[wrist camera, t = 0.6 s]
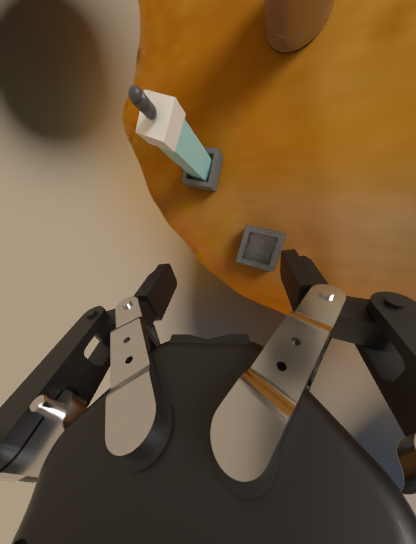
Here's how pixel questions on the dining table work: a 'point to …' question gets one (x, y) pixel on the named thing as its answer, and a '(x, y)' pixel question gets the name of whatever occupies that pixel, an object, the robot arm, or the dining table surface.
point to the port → (260, 247)
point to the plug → (170, 131)
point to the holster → (214, 172)
